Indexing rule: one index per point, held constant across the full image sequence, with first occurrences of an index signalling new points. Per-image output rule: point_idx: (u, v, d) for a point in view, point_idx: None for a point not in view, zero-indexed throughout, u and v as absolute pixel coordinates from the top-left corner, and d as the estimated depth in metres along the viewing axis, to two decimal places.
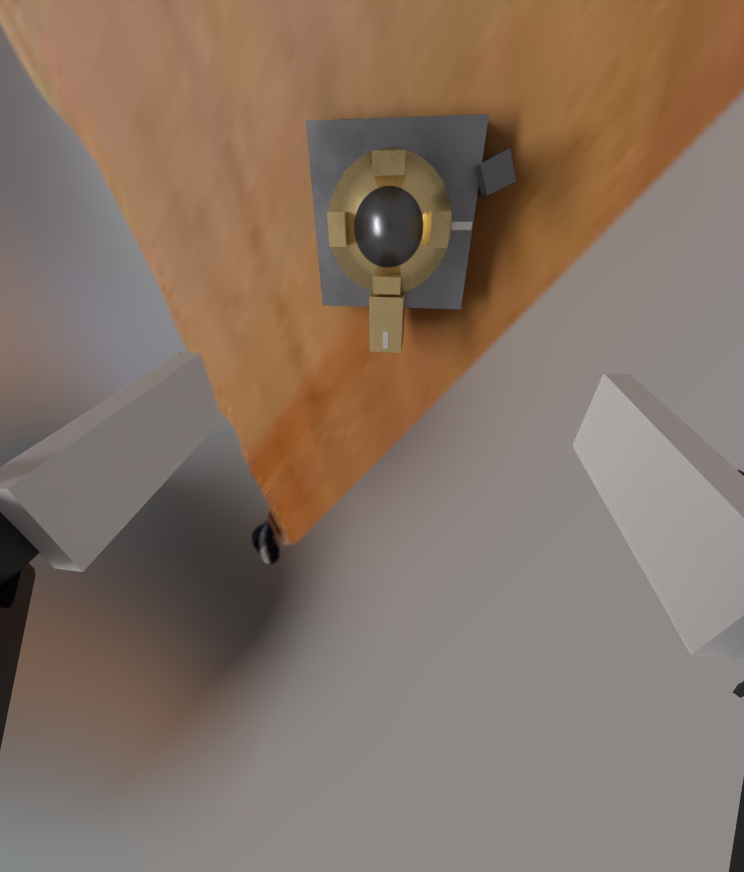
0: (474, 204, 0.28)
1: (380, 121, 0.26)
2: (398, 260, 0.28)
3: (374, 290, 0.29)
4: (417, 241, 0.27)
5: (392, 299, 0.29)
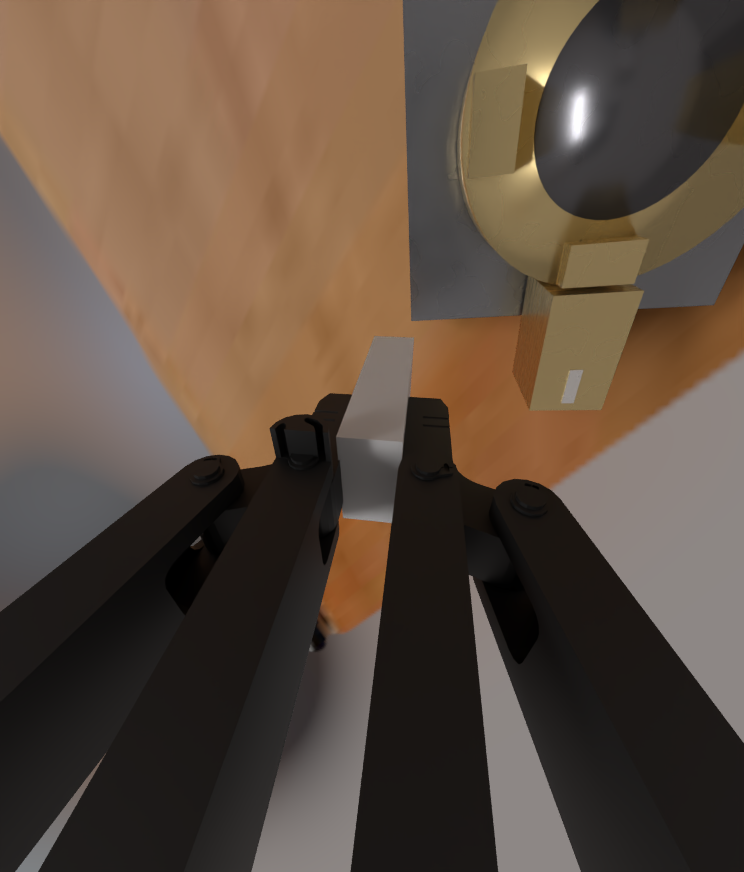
0: None
1: None
2: (643, 196, 0.11)
3: (568, 279, 0.12)
4: (716, 134, 0.10)
5: (614, 297, 0.12)
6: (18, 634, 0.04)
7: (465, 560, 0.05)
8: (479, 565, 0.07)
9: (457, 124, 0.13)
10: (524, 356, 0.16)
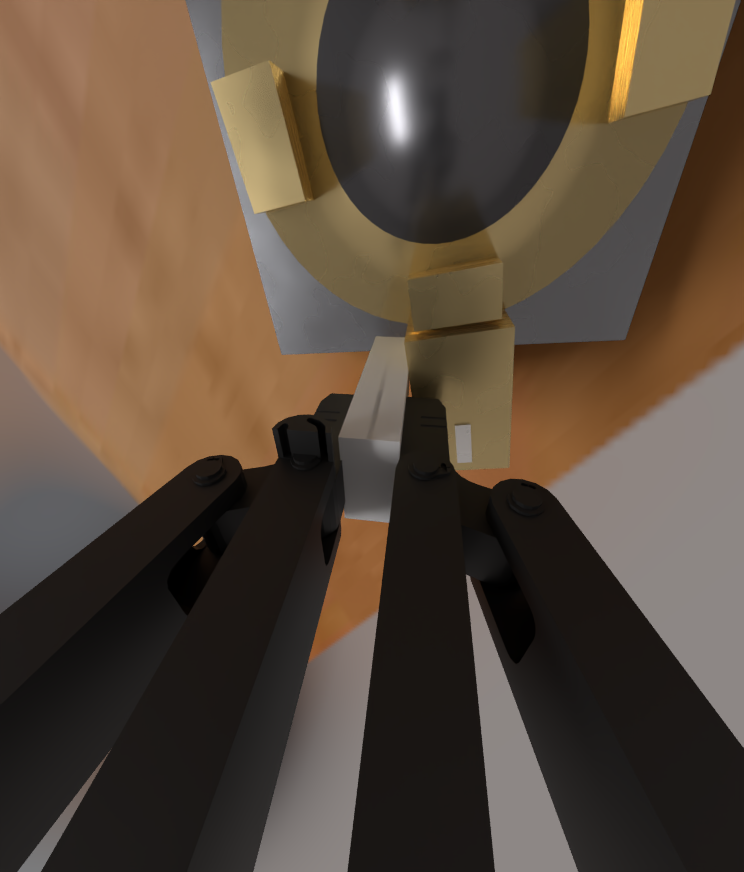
0: None
1: None
2: (487, 208, 0.08)
3: (417, 321, 0.09)
4: (559, 115, 0.07)
5: (479, 338, 0.09)
6: (21, 634, 0.04)
7: (462, 559, 0.05)
8: (476, 565, 0.07)
9: None
10: None
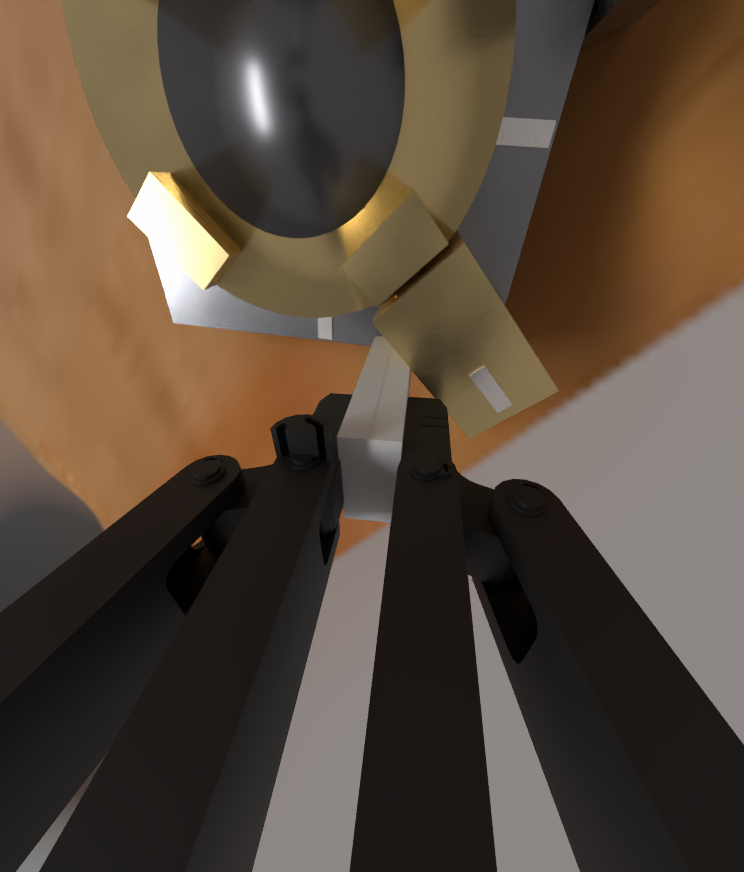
0: (572, 58, 0.09)
1: None
2: (374, 155, 0.08)
3: (373, 296, 0.09)
4: (384, 24, 0.07)
5: (436, 276, 0.08)
6: (19, 634, 0.04)
7: (464, 560, 0.05)
8: (478, 565, 0.07)
9: None
10: None
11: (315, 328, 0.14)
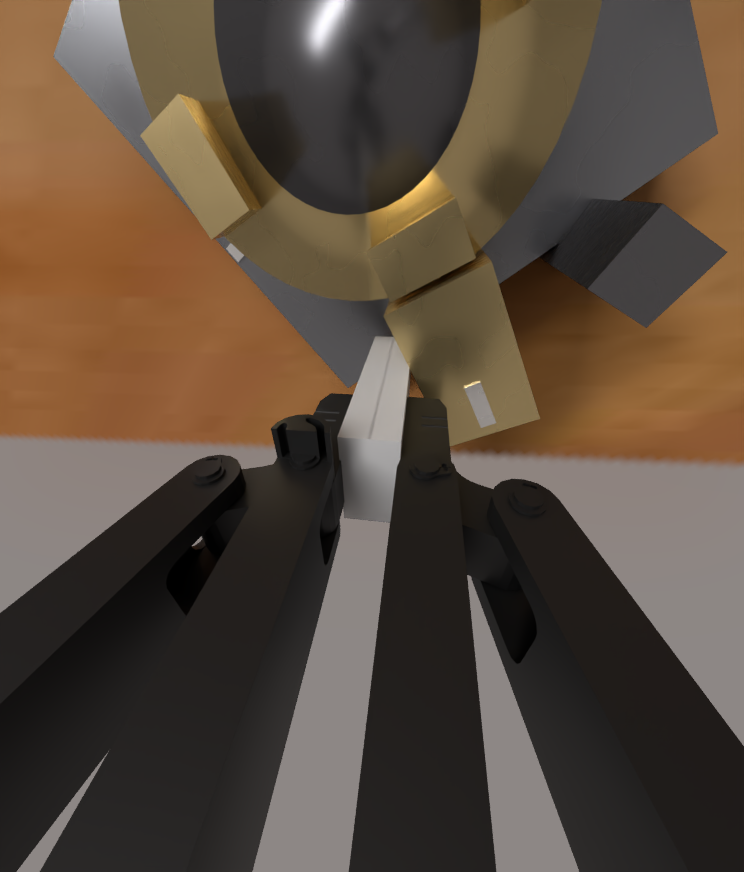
0: (522, 263, 0.12)
1: None
2: (424, 150, 0.08)
3: (390, 290, 0.09)
4: (466, 21, 0.07)
5: (457, 286, 0.09)
6: (20, 634, 0.04)
7: (463, 560, 0.05)
8: (477, 566, 0.07)
9: None
10: None
11: None
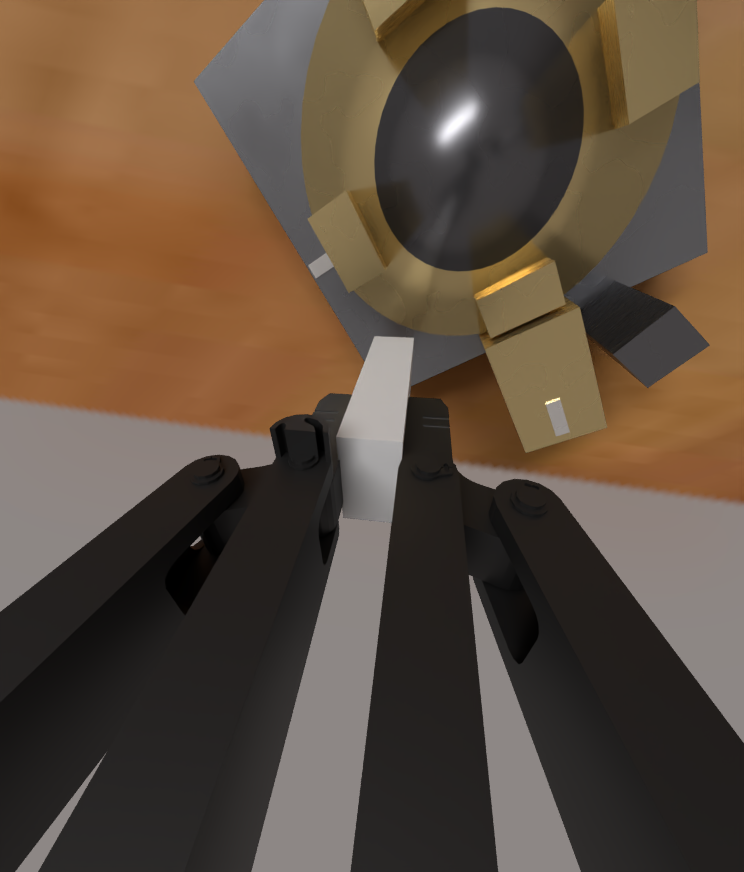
0: None
1: None
2: (528, 225, 0.10)
3: (492, 328, 0.11)
4: (571, 139, 0.09)
5: (549, 325, 0.11)
6: (18, 633, 0.04)
7: (465, 560, 0.05)
8: (479, 566, 0.07)
9: None
10: None
11: (313, 257, 0.14)
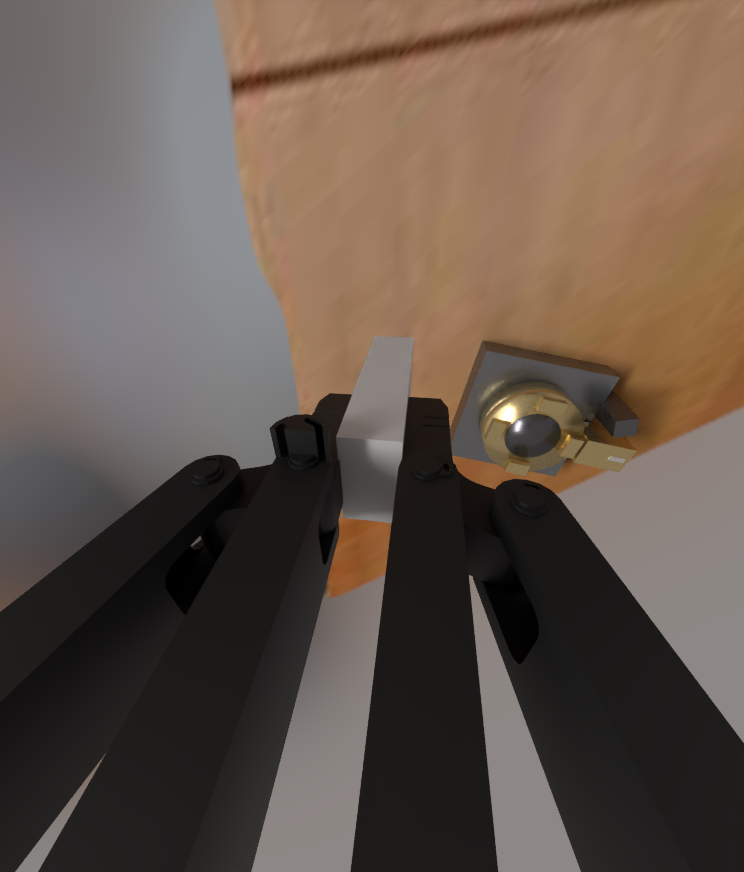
0: (590, 421, 0.38)
1: (542, 363, 0.35)
2: (556, 434, 0.35)
3: (570, 457, 0.36)
4: (550, 420, 0.34)
5: (585, 447, 0.35)
6: (18, 634, 0.04)
7: (465, 560, 0.05)
8: (479, 566, 0.07)
9: (483, 407, 0.38)
10: None
11: None
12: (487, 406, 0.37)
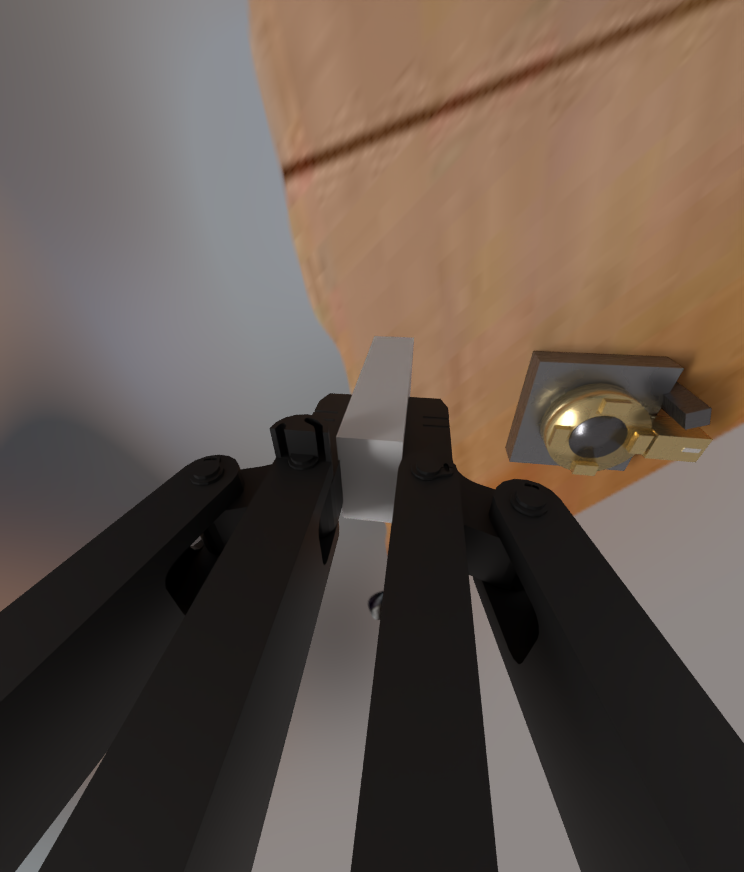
0: (656, 413, 0.37)
1: (598, 366, 0.35)
2: (623, 433, 0.35)
3: (640, 453, 0.36)
4: (615, 420, 0.35)
5: (656, 442, 0.35)
6: (18, 633, 0.04)
7: (465, 560, 0.05)
8: (479, 566, 0.07)
9: (542, 413, 0.39)
10: None
11: None
12: (546, 413, 0.38)
